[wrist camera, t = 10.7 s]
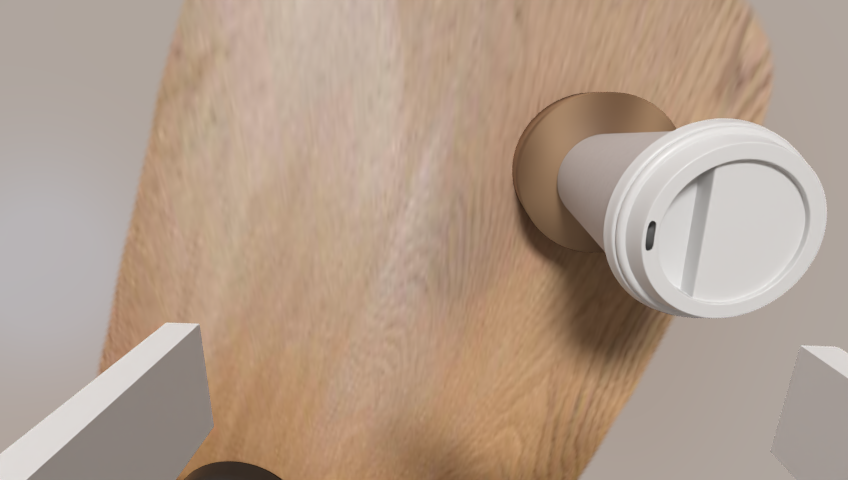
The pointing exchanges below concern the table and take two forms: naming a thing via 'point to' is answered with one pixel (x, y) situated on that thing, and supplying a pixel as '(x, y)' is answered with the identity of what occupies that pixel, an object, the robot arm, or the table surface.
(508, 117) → the table surface
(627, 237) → the coffee cup
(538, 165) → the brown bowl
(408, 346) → the table surface
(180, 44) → the table surface
